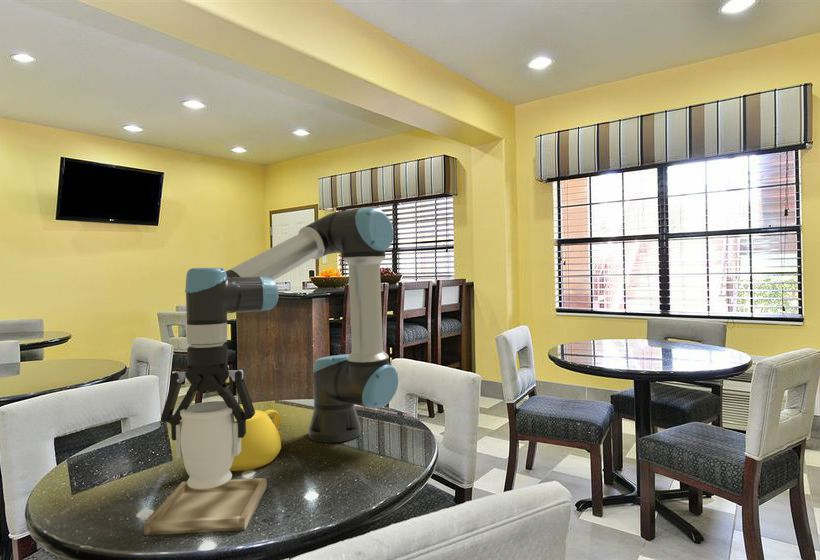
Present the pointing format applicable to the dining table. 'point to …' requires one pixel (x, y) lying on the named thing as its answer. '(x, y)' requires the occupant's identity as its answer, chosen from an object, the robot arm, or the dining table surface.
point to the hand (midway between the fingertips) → (209, 454)
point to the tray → (207, 508)
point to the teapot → (259, 441)
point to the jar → (207, 443)
